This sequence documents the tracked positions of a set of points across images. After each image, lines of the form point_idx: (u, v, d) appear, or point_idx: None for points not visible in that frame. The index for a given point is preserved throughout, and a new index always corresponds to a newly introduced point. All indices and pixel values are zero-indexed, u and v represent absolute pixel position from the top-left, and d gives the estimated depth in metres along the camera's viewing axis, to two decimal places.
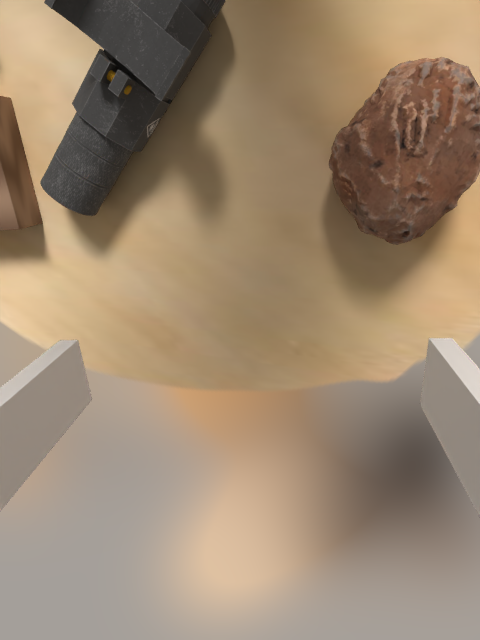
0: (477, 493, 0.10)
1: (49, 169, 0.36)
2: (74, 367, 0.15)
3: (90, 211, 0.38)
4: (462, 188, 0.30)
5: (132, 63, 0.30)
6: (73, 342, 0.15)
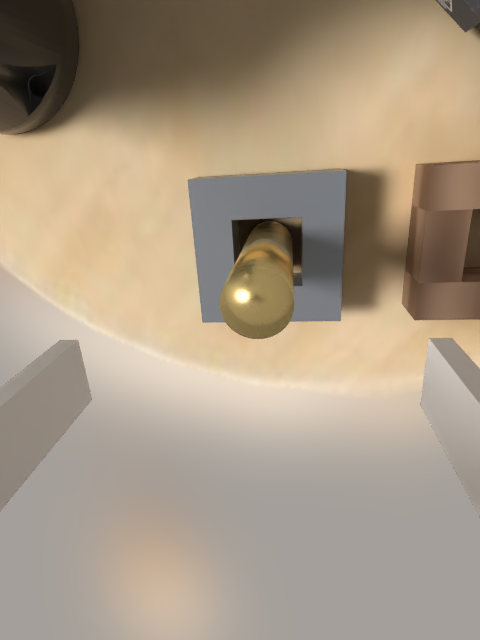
0: (477, 493, 0.10)
1: None
2: (74, 367, 0.15)
3: None
4: None
5: None
6: (73, 341, 0.15)
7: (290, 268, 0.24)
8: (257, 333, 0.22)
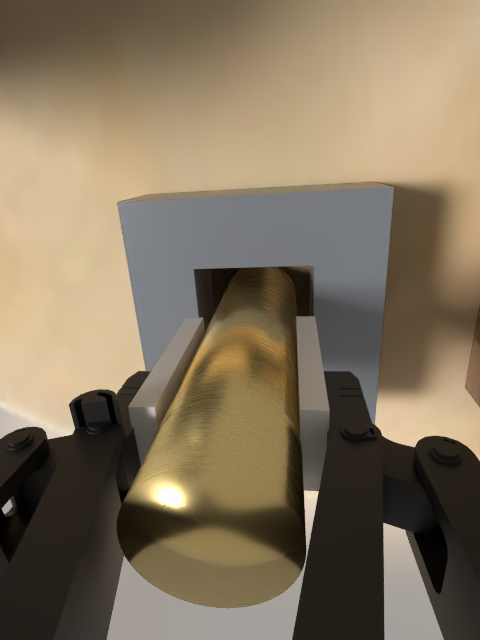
0: None
1: None
2: None
3: None
4: None
5: None
6: (200, 319, 0.16)
7: (294, 399, 0.12)
8: (214, 597, 0.09)
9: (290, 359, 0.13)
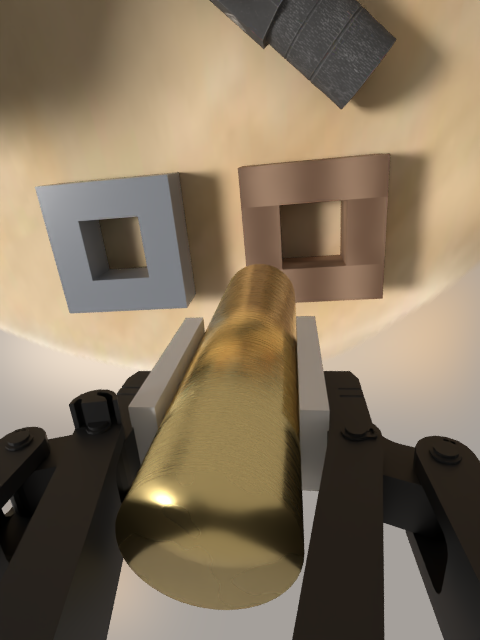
0: None
1: (335, 80, 0.28)
2: None
3: None
4: None
5: None
6: (200, 319, 0.16)
7: (293, 401, 0.12)
8: (213, 599, 0.09)
9: (289, 361, 0.13)
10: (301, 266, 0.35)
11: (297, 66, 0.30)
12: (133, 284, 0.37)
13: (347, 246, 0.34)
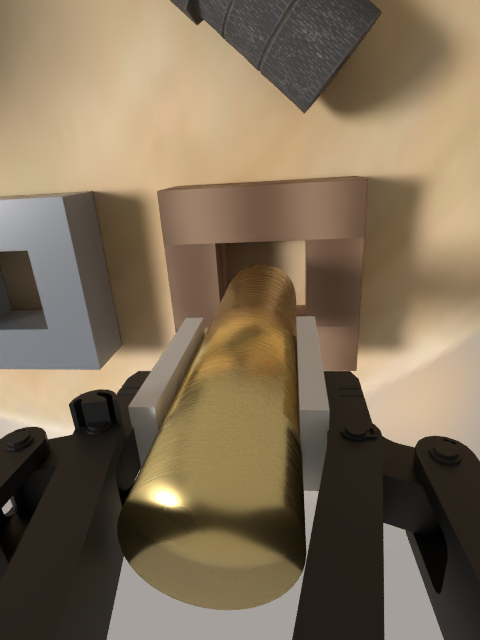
0: None
1: (291, 69, 0.19)
2: None
3: (374, 5, 0.19)
4: None
5: None
6: (200, 319, 0.16)
7: (294, 401, 0.12)
8: (215, 599, 0.09)
9: (290, 361, 0.13)
10: None
11: (239, 49, 0.20)
12: (28, 337, 0.28)
13: (308, 301, 0.25)
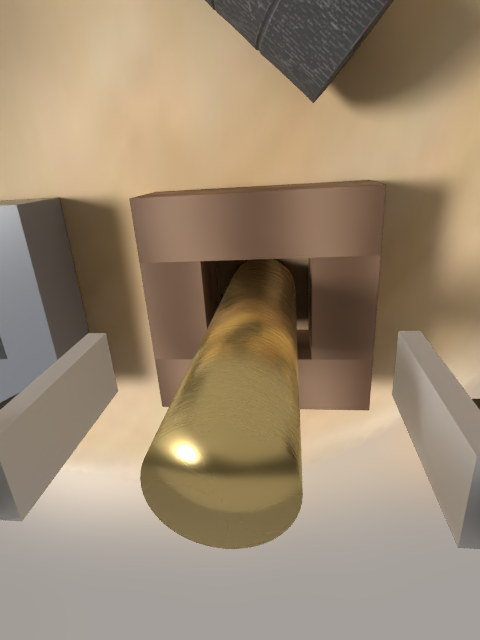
0: (434, 473, 0.11)
1: (297, 46, 0.15)
2: (103, 359, 0.15)
3: None
4: None
5: None
6: (102, 334, 0.16)
7: (293, 375, 0.13)
8: (224, 539, 0.10)
9: (289, 341, 0.15)
10: None
11: (233, 22, 0.16)
12: None
13: (313, 330, 0.21)
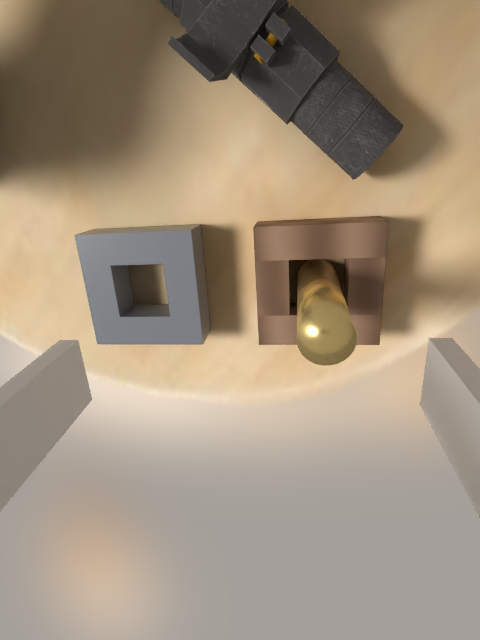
0: (477, 493, 0.10)
1: (348, 158, 0.33)
2: (74, 367, 0.15)
3: (399, 122, 0.32)
4: None
5: (259, 11, 0.28)
6: (73, 341, 0.15)
7: (347, 307, 0.30)
8: (325, 361, 0.27)
9: (343, 296, 0.32)
10: None
11: (316, 142, 0.34)
12: (155, 322, 0.42)
13: (348, 298, 0.38)
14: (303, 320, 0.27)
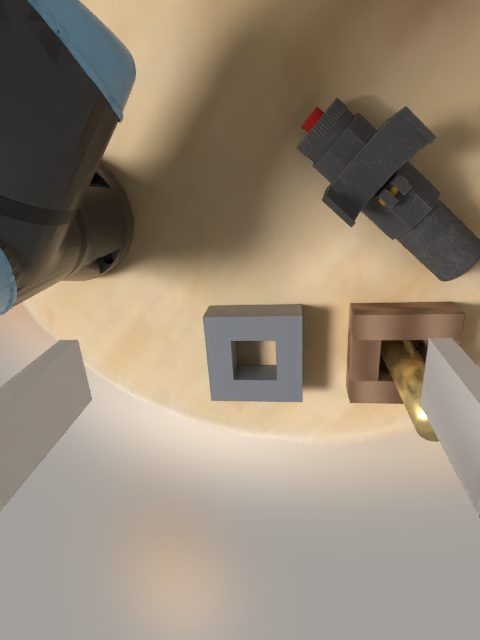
0: (477, 493, 0.10)
1: (441, 269, 0.42)
2: (74, 367, 0.15)
3: None
4: None
5: (387, 172, 0.37)
6: (73, 342, 0.15)
7: None
8: (435, 438, 0.37)
9: None
10: (391, 379, 0.49)
11: (413, 253, 0.43)
12: (264, 384, 0.51)
13: None
14: (421, 409, 0.36)
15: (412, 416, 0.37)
